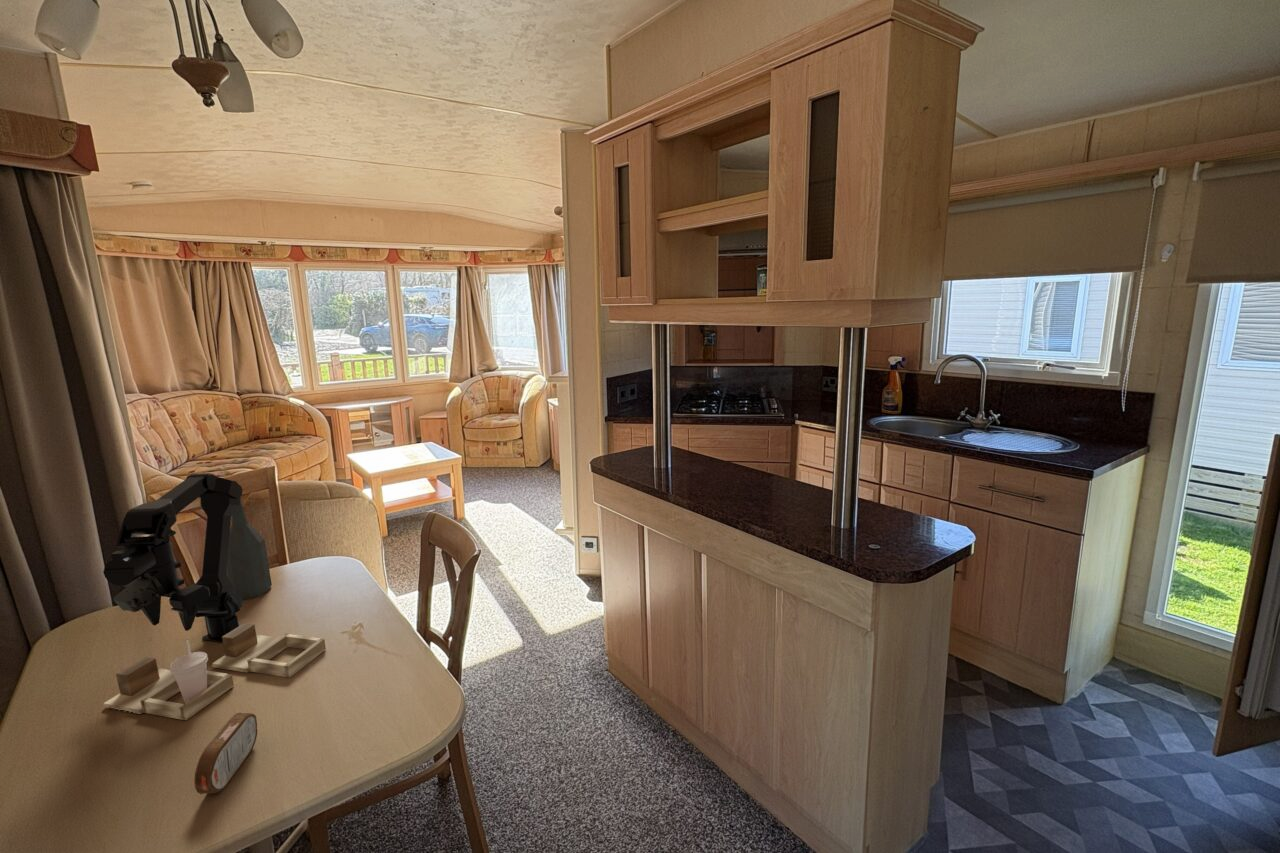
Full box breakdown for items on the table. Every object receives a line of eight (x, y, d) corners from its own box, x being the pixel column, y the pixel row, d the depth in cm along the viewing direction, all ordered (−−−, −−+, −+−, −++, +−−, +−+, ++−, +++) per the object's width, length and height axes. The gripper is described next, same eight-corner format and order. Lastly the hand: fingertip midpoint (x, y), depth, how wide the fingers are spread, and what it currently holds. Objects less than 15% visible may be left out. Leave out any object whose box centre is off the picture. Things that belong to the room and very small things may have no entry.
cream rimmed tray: (104, 707, 124) (98, 682, 122) (161, 672, 135) (156, 648, 134) (183, 722, 119) (178, 695, 118) (235, 684, 130) (231, 660, 129)
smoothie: (222, 691, 128) (211, 633, 125) (199, 712, 122) (186, 651, 119) (194, 690, 129) (182, 632, 126) (169, 710, 123) (156, 650, 120)
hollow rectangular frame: (212, 667, 137) (208, 643, 135) (256, 638, 148) (252, 616, 147) (288, 678, 132) (284, 654, 131) (327, 648, 143) (324, 625, 142)
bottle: (226, 592, 172) (208, 493, 165) (265, 580, 179) (249, 484, 172) (236, 604, 165) (218, 501, 158) (276, 591, 172) (260, 492, 165)
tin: (246, 740, 114) (239, 702, 112) (264, 739, 114) (257, 701, 113) (196, 806, 99) (187, 763, 98) (216, 805, 100) (207, 762, 98)
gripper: (83, 575, 123) (100, 642, 127) (152, 585, 118) (168, 654, 122) (139, 552, 134) (153, 614, 137) (205, 560, 129) (218, 625, 133)
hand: (172, 627), depth 132 cm, fingers open, 9 cm apart
